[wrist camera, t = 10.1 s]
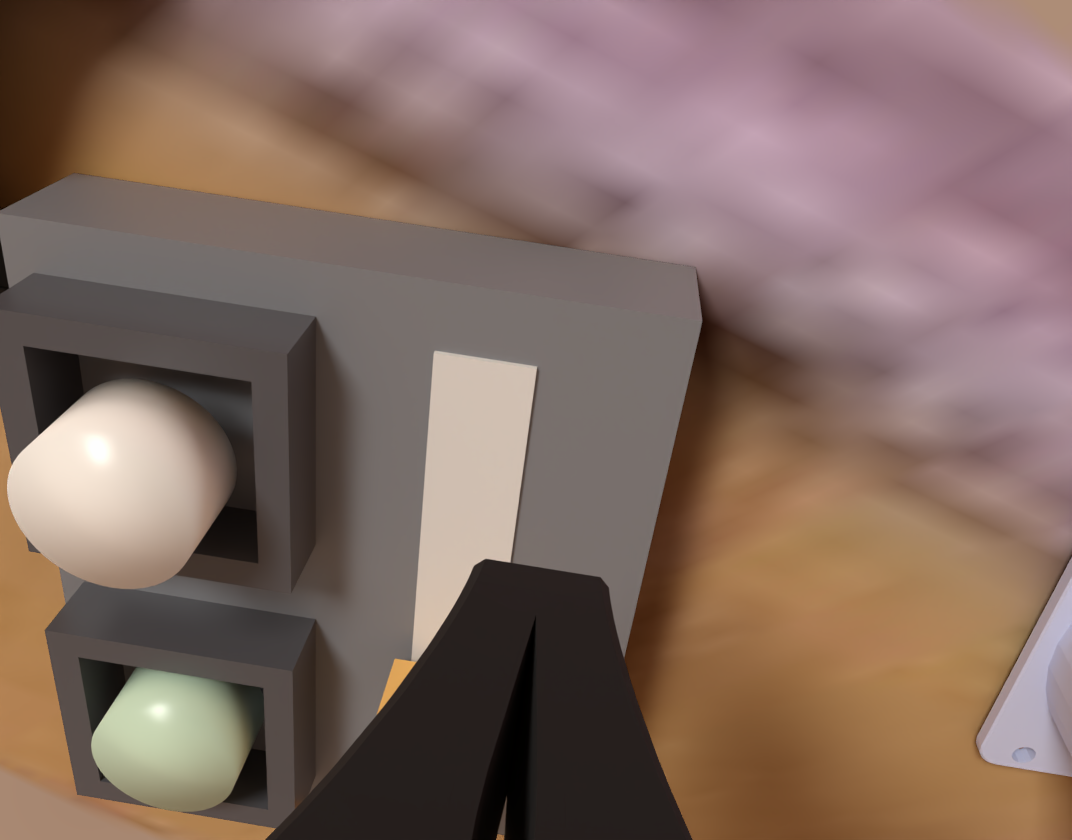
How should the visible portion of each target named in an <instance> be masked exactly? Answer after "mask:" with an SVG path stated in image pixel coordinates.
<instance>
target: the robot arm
mask: <svg viewBox="0 0 1072 840" xmlns="http://www.w3.org/2000/svg"><path fill="white" fill-rule="evenodd" d="M976 744H977V747H978V749H979V752H980V755H981V757H982V758H983V759H984V760H985V761H987V762H990V763H993V764H997V765H1003V766H1009V767H1015V768H1021V769H1028V770H1034V771H1040V772H1046V773H1052V774H1058V775H1064V776H1070V777H1072V557H1071V559H1070V561H1069V563H1068V565H1067V567H1066V569H1065V571H1064V573H1063V575H1062V576H1061V578H1060V580H1059V582H1058V584H1057V586H1056V588H1055V590H1054V592H1053V593H1052V595H1051V597H1050V599H1049V601H1048V603H1047V605H1046V607H1045V609H1044V610H1043V612H1042V614H1041V616H1040V618H1039V620H1038V622H1037V624H1036V626H1035V628H1034V629H1033V631H1032V633H1031V635H1030V637H1029V639H1028V641H1027V643H1026V645H1025V646H1024V648H1023V650H1022V652H1021V654H1020V656H1019V658H1018V660H1017V662H1016V664H1015V665H1014V667H1013V669H1012V671H1011V673H1010V675H1009V677H1008V679H1007V681H1006V682H1005V684H1004V686H1003V688H1002V690H1001V692H1000V694H999V696H998V698H997V700H996V701H995V703H994V705H993V707H992V709H991V711H990V713H989V715H988V717H987V718H986V720H985V722H984V724H983V726H982V728H981V730H980V732H979V734H978V735H977V739H976ZM1022 747H1024V748H1022ZM1019 748H1022V749H1019ZM506 798H507V802H506ZM505 802H506V818H505V835H504V840H692V838H691V835H690V833H689V831H688V829H687V826H686V824H685V822H684V819H683V817H682V815H681V812H680V810H679V808H678V806H677V803H676V801H675V799H674V796H673V794H672V792H671V789H670V787H669V784H668V782H667V780H666V777H665V775H664V772H663V770H662V767H661V765H660V762H659V760H658V757H657V754H656V752H655V749H654V746H653V743H652V741H651V738H650V735H649V732H648V730H647V727H646V724H645V721H644V719H643V716H642V713H641V710H640V708H639V705H638V702H637V699H636V696H635V693H634V690H633V687H632V684H631V680H630V677H629V674H628V670H627V667H626V663H625V660H624V657H623V653H622V650H621V646H620V642H619V638H618V634H617V630H616V626H615V621H614V617H613V611H612V606H611V600H610V592H609V587H608V586H607V585H606V583H605V582H604V581H603V580H602V578H601V577H597V576H590V575H584V574H578V573H572V572H565V571H559V570H553V569H547V568H541V567H534V566H528V565H522V564H516V563H510V562H503V561H497V560H491V559H484V560H483V561H481V562H479V563H477V564H476V565H474V567H473V569H472V571H471V574H470V576H469V578H468V580H467V582H466V584H465V586H464V588H463V590H462V592H461V594H460V596H459V597H458V599H457V601H456V603H455V604H454V606H453V608H452V609H451V611H450V613H449V614H448V616H447V618H446V619H445V621H444V622H443V624H442V625H441V627H440V628H439V630H438V632H437V633H436V635H435V636H434V638H433V639H432V641H431V642H430V644H429V645H428V647H427V648H426V650H425V651H424V652H423V654H422V655H421V656H420V658H419V659H418V661H417V662H416V663H415V665H414V666H413V667H412V669H411V670H410V672H409V673H408V674H407V676H406V677H405V678H404V680H403V681H402V683H401V684H400V685H399V687H398V688H397V689H396V691H395V692H394V694H393V695H392V696H391V698H390V699H389V700H388V701H387V703H386V704H385V705H384V707H383V708H382V709H381V710H380V712H379V713H378V714H377V715H376V716H375V718H374V719H373V720H372V721H371V722H370V724H369V725H368V726H367V727H366V728H365V730H364V731H363V732H362V733H361V734H360V736H359V737H358V738H357V739H356V740H355V742H354V743H353V744H352V745H351V746H350V748H349V749H348V750H347V751H346V752H345V754H344V755H343V756H342V757H341V758H340V760H339V761H338V762H337V763H336V764H335V766H334V767H333V768H332V769H331V770H330V771H329V772H328V774H327V775H326V776H325V777H324V778H323V779H322V780H321V781H320V782H319V784H318V785H317V786H316V787H315V788H314V789H313V790H312V791H311V792H310V794H309V795H308V796H307V797H306V798H305V799H304V800H303V801H302V802H301V803H300V804H299V805H298V806H297V808H296V809H295V810H294V811H293V812H292V813H291V814H290V815H289V816H288V817H287V818H286V819H285V820H284V821H283V822H282V823H281V824H280V825H279V826H278V827H277V828H276V829H275V830H274V831H273V832H272V833H271V834H270V835H269V836H268V837H267V838H266V840H496V838H497V834H498V830H499V826H500V822H501V818H502V814H503V810H504V806H505Z"/></svg>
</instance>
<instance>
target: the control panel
mask: <svg viewBox="0 0 1072 840" xmlns="http://www.w3.org/2000/svg"><path fill="white" fill-rule="evenodd" d="M0 240H1V246H2V251H3V257H4V262H5V268H6V274H7V279H8V285H9V289H7V290H6V291H4V292H3V293H1V294H0V407H1V412H2V417H3V422H4V428H5V433H6V438H7V443H8V448H9V453H10V458H11V463H12V464H13V462H14V461H15V459H16V458H17V456H18V455H19V454H20V453H21V452H22V451H23V450H24V449H25V448H26V447H27V446H28V445H29V444H30V443H31V442H33V441H34V440H35V439H36V438H37V437H38V436H39V435H40V434H41V433H42V432H43V431H45V430H46V429H47V428H48V427H49V426H50V425H51V424H52V423H53V422H54V421H56V420H57V419H58V418H59V417H60V416H61V415H62V414H63V413H64V412H65V411H66V410H68V409H69V408H70V407H71V406H72V405H73V404H74V403H75V402H76V401H77V400H79V399H80V398H81V397H82V396H83V395H84V394H85V393H86V392H88V391H89V390H91V389H92V388H93V387H95V386H98V385H100V384H102V383H105V382H108V381H111V380H118V379H143V380H149V381H153V382H157V383H160V384H163V385H166V386H169V387H171V388H174V389H176V390H178V391H180V392H182V393H183V394H185V395H187V396H189V397H190V398H192V399H193V400H194V401H196V402H197V403H199V404H200V405H201V406H202V407H203V408H204V409H206V410H207V411H208V412H209V413H210V414H211V415H212V416H213V417H214V419H215V420H216V421H217V422H218V423H219V425H220V426H221V427H222V429H223V430H224V432H225V434H226V435H227V437H228V439H229V441H230V443H231V446H232V448H233V451H234V455H235V459H236V466H237V478H236V483H235V487H234V490H233V492H232V495H231V496H230V498H229V500H228V501H227V503H226V504H225V506H224V507H223V509H222V510H221V512H220V513H219V515H218V516H217V518H216V519H215V521H214V522H213V524H212V525H211V527H210V528H209V530H208V531H207V533H206V534H205V535H204V537H203V538H202V540H201V541H200V543H199V544H198V546H197V547H196V549H195V550H194V552H193V553H192V555H191V556H190V558H189V559H188V561H187V562H186V564H185V565H184V566H183V567H182V569H181V570H180V571H179V572H178V573H177V574H175V575H174V576H173V577H172V578H170V579H168V580H166V581H165V582H162V583H160V584H157V585H155V586H150V587H146V588H139V589H119V588H111V587H106V586H101V585H98V584H94V583H91V582H88V581H86V580H83V579H81V578H78V577H76V576H74V575H72V574H70V573H68V572H66V571H65V570H63V569H62V568H60V567H59V569H60V574H61V580H62V586H63V591H64V597H65V602H66V604H65V606H64V607H63V608H62V609H61V611H60V612H59V613H58V614H57V616H56V617H55V618H54V619H53V621H52V622H51V623H50V624H49V626H48V627H47V628H46V629H45V634H46V639H47V644H48V649H49V654H50V659H51V664H52V669H53V674H54V680H55V685H56V690H57V695H58V700H59V705H60V710H61V715H62V720H63V725H64V730H65V735H66V740H67V745H68V750H69V755H70V760H71V765H72V770H73V775H74V780H75V785H76V790H77V795H83V796H89V797H95V798H101V799H106V800H112V801H118V802H124V803H130V804H136V805H142V806H148V807H153V806H150V805H148V804H145V803H142V802H140V801H138V800H136V799H134V798H132V797H130V796H129V795H127V794H125V793H124V792H122V791H121V790H119V789H118V788H117V787H116V786H114V785H113V784H112V783H111V782H110V781H109V780H108V779H107V778H106V777H105V776H104V775H103V773H102V772H101V771H100V769H99V768H98V766H97V764H96V762H95V760H94V758H93V754H92V749H91V742H92V737H93V734H94V732H95V730H96V729H97V727H98V725H99V724H100V722H101V721H102V719H103V718H104V716H105V715H106V713H107V712H108V710H109V708H110V707H111V705H112V704H113V702H114V701H115V699H116V698H117V696H118V695H119V693H120V691H121V690H122V688H123V687H124V685H125V684H126V682H127V681H128V679H129V678H130V676H131V675H132V673H133V671H134V670H135V668H136V667H140V668H146V669H152V670H158V671H165V672H171V673H177V674H183V675H189V676H195V677H201V678H207V679H213V680H219V681H225V682H231V683H237V684H243V685H249V686H255V687H259V688H260V690H261V692H262V694H263V696H264V716H265V719H264V721H263V724H262V726H261V728H260V730H259V732H258V735H257V737H256V739H255V741H254V743H253V746H252V748H251V750H250V752H249V754H248V757H247V759H246V761H245V763H244V765H243V768H242V770H241V772H240V774H239V776H238V778H237V781H236V783H235V785H234V787H233V789H232V791H231V793H230V795H229V796H228V797H227V798H226V799H225V800H224V801H223V802H221V803H220V804H218V805H216V806H214V807H212V808H209V809H205V810H201V811H194V812H183V813H189V814H195V815H201V816H207V817H213V818H218V819H224V820H230V821H236V822H242V823H248V824H254V825H260V826H266V827H271V828H277V827H278V826H279V825H280V824H281V823H282V822H283V821H284V820H285V819H286V818H287V817H288V816H289V815H290V814H291V813H292V812H293V811H294V810H295V809H296V808H297V806H298V805H299V804H300V803H301V802H302V801H303V800H304V799H305V798H306V797H307V796H308V795H309V794H310V792H311V791H312V790H313V789H314V788H315V787H316V786H317V785H318V784H319V782H320V781H321V780H322V779H323V778H324V777H325V776H326V775H327V774H328V772H329V771H330V770H331V769H332V768H333V767H334V766H335V764H336V763H337V762H338V761H339V760H340V758H341V757H342V756H343V755H344V754H345V752H346V751H347V750H348V749H349V748H350V746H351V745H352V744H353V743H354V742H355V740H356V739H357V738H358V737H359V736H360V734H361V733H362V732H363V731H364V730H365V728H366V727H367V726H368V725H369V724H370V722H371V721H372V720H373V719H374V718H375V716H376V715H377V712H378V709H379V706H380V703H381V700H382V697H383V693H384V690H385V687H386V684H387V681H388V678H389V675H390V672H391V669H392V666H393V662H394V659H401V660H407V661H413V662H417V661H418V659H419V658H420V656H421V655H422V654H423V652H424V651H425V650H426V648H427V647H428V645H429V644H430V642H431V641H432V639H433V638H434V636H435V635H436V633H437V632H438V630H439V628H440V627H441V625H442V624H443V622H444V621H445V619H446V618H447V616H448V614H449V613H450V611H451V609H452V608H453V606H454V604H455V603H456V601H457V599H458V597H459V596H460V594H461V592H462V590H463V588H464V586H465V584H466V582H467V580H468V578H469V576H470V574H471V571H472V569H473V567H474V565H476V564H477V563H479V562H481V561H483V560H484V559H491V560H497V561H503V562H510V563H516V564H522V565H528V566H534V567H541V568H547V569H553V570H559V571H565V572H572V573H578V574H584V575H590V576H597V577H601V578H602V580H603V581H604V582H605V583H606V585H607V586H608V587H609V592H610V600H611V606H612V611H613V617H614V621H615V626H616V630H617V634H618V638H619V642H620V646H621V650H622V653H623V657H625V652H626V648H627V644H628V639H629V635H630V631H631V627H632V622H633V618H634V614H635V609H636V605H637V601H638V596H639V592H640V588H641V584H642V579H643V575H644V571H645V566H646V562H647V558H648V553H649V549H650V545H651V540H652V536H653V532H654V528H655V523H656V519H657V515H658V510H659V506H660V502H661V497H662V493H663V489H664V484H665V480H666V476H667V472H668V467H669V463H670V459H671V454H672V450H673V446H674V441H675V437H676V433H677V428H678V424H679V420H680V416H681V411H682V407H683V403H684V398H685V394H686V390H687V385H688V381H689V377H690V372H691V368H692V364H693V360H694V355H695V351H696V347H697V342H698V338H699V334H700V329H701V325H702V314H701V306H700V299H699V291H698V283H697V276H696V268H695V267H691V266H684V265H677V264H671V263H664V262H658V261H651V260H645V259H638V258H631V257H625V256H618V255H612V254H605V253H598V252H592V251H585V250H579V249H572V248H565V247H559V246H552V245H546V244H539V243H532V242H526V241H519V240H513V239H506V238H499V237H493V236H486V235H480V234H473V233H467V232H460V231H453V230H447V229H440V228H434V227H427V226H420V225H414V224H407V223H401V222H394V221H387V220H381V219H374V218H368V217H361V216H354V215H348V214H341V213H335V212H328V211H321V210H315V209H308V208H302V207H295V206H289V205H282V204H275V203H269V202H262V201H256V200H249V199H242V198H236V197H229V196H223V195H216V194H209V193H203V192H196V191H190V190H183V189H176V188H170V187H163V186H157V185H150V184H144V183H137V182H130V181H124V180H117V179H111V178H104V177H97V176H91V175H84V174H78V173H73V174H71V175H69V176H67V177H65V178H63V179H61V180H59V181H57V182H55V183H53V184H51V185H49V186H47V187H45V188H43V189H41V190H39V191H38V192H36V193H34V194H32V195H30V196H28V197H26V198H24V199H22V200H20V201H18V202H16V203H14V204H12V205H10V206H8V207H6V208H4V209H2V210H0ZM26 538H27V537H26ZM27 543H28V548H29V551H30V552H37V553H41V552H39V551H38V550H37V549H36V548H35V547H34V546H33V544H32V543H31V542H30V541H29V540H28V539H27ZM506 802H507V798H506ZM506 802H505V806H504V810H503V814H502V818H501V822H500V826H499V830H498V834H500V835H505V818H506ZM154 808H157V807H154ZM177 812H178V811H177Z"/></svg>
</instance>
